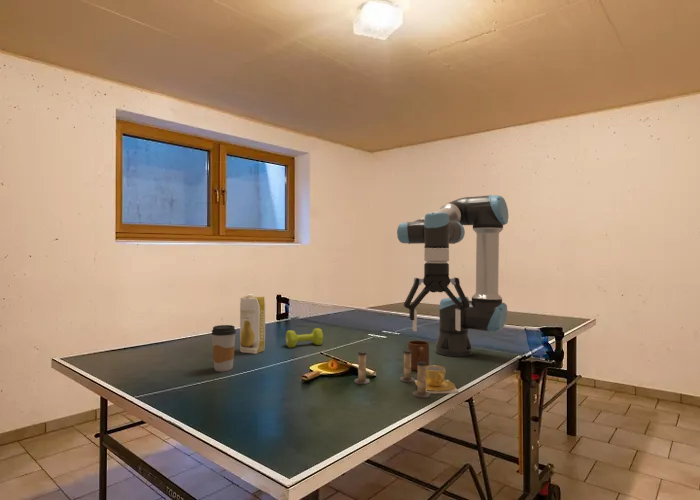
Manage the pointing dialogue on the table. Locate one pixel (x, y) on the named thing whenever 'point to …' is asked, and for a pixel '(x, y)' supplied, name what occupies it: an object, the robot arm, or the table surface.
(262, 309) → the juice carton
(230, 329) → the coffee cup
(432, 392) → the coaster
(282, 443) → the table surface
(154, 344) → the table surface
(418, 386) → the posts
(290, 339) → the dumbbell
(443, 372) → the cup
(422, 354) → the mug
